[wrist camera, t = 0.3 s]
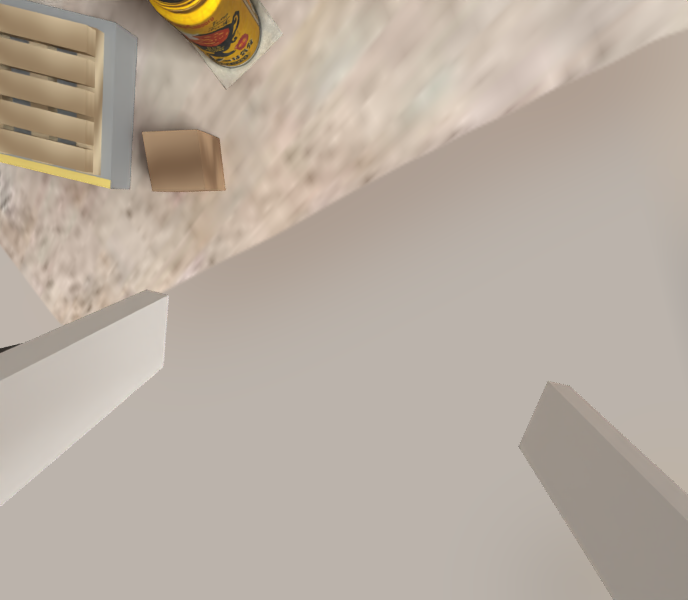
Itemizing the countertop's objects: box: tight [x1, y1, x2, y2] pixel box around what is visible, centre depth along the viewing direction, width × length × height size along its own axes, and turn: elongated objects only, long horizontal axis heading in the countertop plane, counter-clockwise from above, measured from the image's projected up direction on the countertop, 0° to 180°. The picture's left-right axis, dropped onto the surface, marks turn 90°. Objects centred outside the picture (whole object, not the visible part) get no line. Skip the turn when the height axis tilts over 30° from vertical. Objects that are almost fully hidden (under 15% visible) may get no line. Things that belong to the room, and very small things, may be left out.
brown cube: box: [142, 129, 226, 192], centre depth 34 cm, size 5×5×5 cm
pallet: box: [0, 3, 104, 176], centre depth 31 cm, size 12×10×2 cm
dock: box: [0, 0, 138, 189], centre depth 33 cm, size 14×12×3 cm
